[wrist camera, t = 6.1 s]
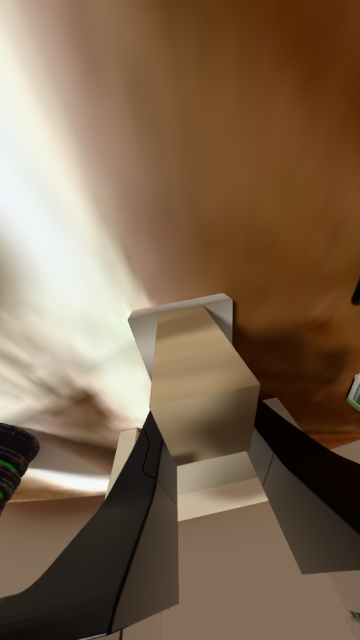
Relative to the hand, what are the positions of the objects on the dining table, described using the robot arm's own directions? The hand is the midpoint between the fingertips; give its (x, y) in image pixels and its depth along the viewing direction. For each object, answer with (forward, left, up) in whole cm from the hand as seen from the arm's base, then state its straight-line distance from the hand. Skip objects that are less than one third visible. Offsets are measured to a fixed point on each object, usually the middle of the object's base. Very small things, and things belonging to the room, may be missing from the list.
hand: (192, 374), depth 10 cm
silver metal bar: (0, +8, -3) cm, 8 cm away
